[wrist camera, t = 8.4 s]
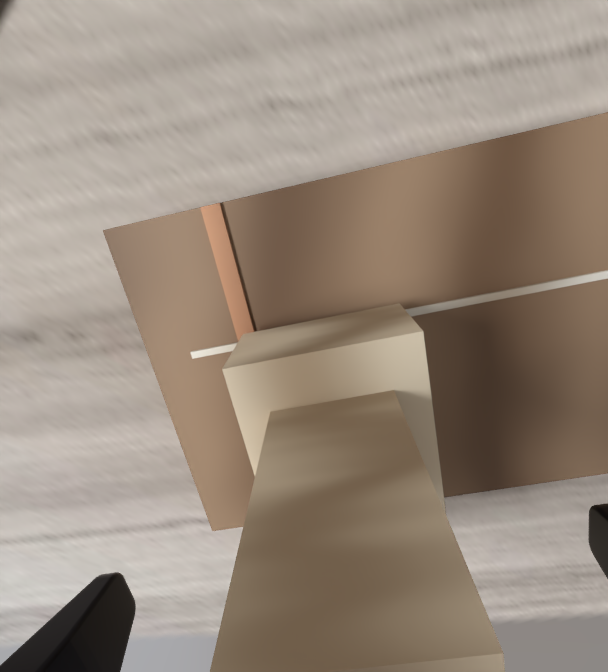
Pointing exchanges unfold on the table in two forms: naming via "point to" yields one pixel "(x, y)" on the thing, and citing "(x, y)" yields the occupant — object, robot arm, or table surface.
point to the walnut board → (401, 301)
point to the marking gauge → (346, 509)
